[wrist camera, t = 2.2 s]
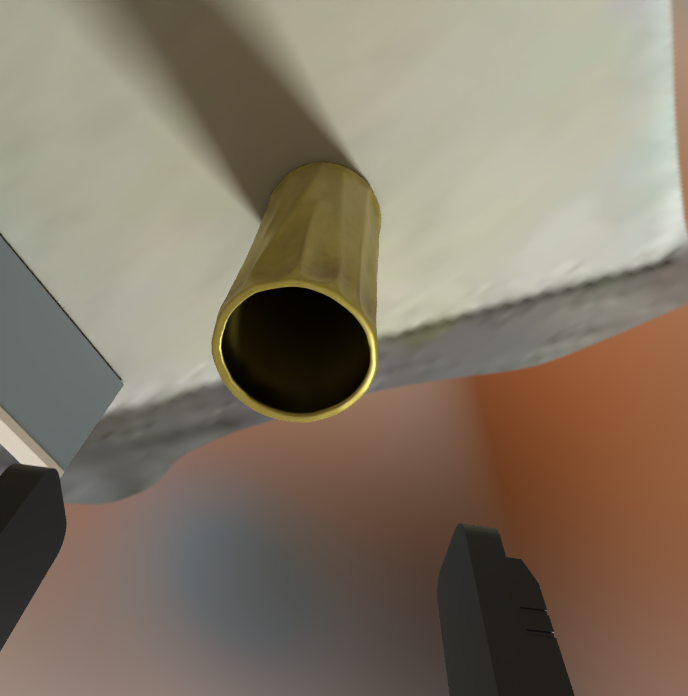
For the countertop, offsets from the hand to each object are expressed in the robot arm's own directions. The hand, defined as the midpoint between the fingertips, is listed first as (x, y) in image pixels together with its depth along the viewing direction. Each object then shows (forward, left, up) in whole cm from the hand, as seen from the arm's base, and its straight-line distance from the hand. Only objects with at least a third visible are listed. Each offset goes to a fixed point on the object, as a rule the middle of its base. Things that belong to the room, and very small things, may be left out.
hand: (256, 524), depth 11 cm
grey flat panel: (-3, -17, -21) cm, 27 cm away
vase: (0, 0, -21) cm, 21 cm away
